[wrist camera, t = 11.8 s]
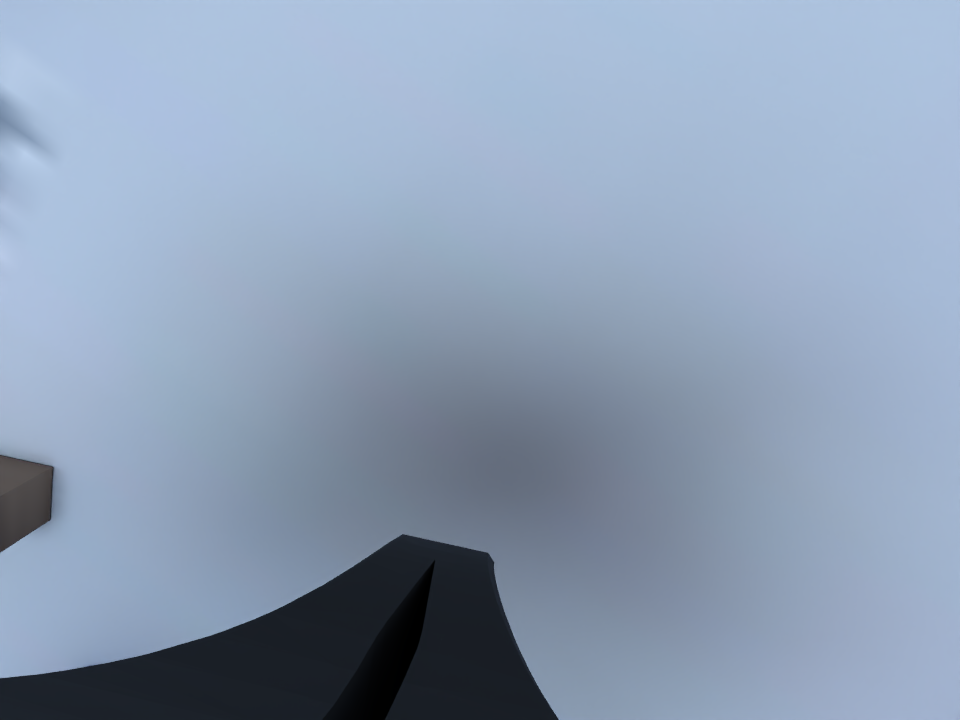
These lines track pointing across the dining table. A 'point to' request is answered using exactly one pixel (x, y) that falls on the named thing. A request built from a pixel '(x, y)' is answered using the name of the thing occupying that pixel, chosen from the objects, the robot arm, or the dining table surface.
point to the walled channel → (23, 498)
